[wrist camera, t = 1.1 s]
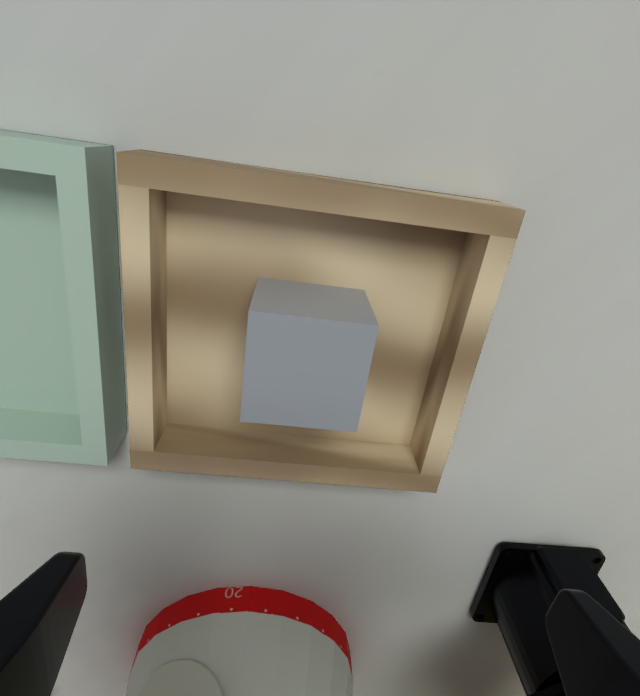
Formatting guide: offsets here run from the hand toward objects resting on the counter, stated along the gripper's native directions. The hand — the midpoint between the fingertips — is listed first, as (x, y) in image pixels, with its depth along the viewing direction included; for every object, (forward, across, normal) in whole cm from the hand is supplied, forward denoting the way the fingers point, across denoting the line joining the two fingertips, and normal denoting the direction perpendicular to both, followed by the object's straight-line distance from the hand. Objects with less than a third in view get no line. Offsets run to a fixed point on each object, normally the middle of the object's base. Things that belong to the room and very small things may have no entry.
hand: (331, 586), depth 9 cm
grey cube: (+13, 0, 0) cm, 13 cm away
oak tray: (+13, 0, 0) cm, 13 cm away
